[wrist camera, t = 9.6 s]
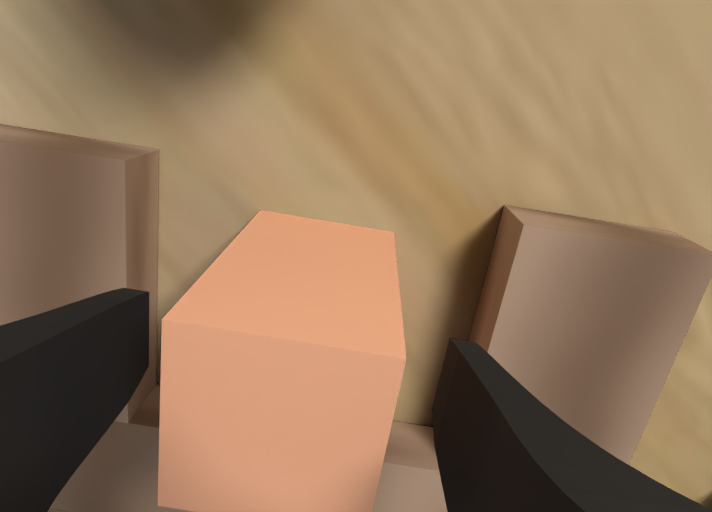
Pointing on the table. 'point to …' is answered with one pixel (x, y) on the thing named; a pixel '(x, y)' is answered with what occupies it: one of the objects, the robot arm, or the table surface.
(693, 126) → the table surface
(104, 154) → the notched board
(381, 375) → the block
